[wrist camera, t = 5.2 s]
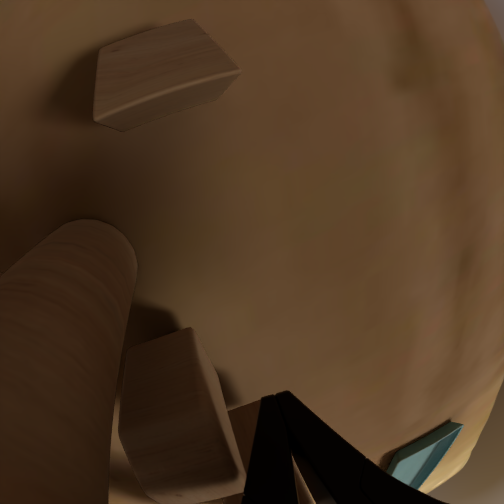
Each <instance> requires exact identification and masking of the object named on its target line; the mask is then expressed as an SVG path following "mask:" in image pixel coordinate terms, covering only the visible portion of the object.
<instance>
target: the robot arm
mask: <svg viewBox="0 0 504 504" xmlns="http://www.w3.org/2000/svg"><path fill="white" fill-rule="evenodd" d="M291 453H292V454H291ZM292 456H293V458H294V460H295V462H296V465H297V467H298V469H299V471H300V473H301V475H302V477H303V479H304V481H305V483H306V485H307V487H308V489H309V491H310V493H311V494H312V496H313V498H314V500H315V502H316V504H449V503H445V502H442V501H440V500H437V499H435V498H433V497H431V496H429V495H427V494H425V493H423V492H421V491H419V490H417V489H415V488H413V487H411V486H409V485H407V484H405V483H403V482H401V481H400V480H398V479H396V478H395V477H393V476H391V475H390V474H388V473H387V472H385V471H384V470H383V469H381V468H380V467H378V466H377V465H376V464H374V463H373V462H372V461H371V460H369V459H368V458H366V457H365V456H364V455H363V454H362V453H360V452H359V451H358V450H357V449H355V448H354V447H353V446H352V445H351V444H349V443H348V442H347V441H346V440H345V439H343V438H342V437H341V436H340V435H339V434H337V433H336V432H335V431H334V430H333V429H332V428H330V427H329V426H328V425H327V424H326V423H325V422H323V421H322V420H321V419H320V418H319V417H318V416H317V415H315V414H314V413H313V412H312V411H311V410H310V409H309V408H308V407H307V406H305V405H304V404H303V403H302V402H301V401H300V400H299V399H298V398H297V397H295V396H294V395H293V394H292V393H291V392H290V391H288V390H286V391H283V392H279V393H276V395H273V394H272V395H268V396H264V397H262V398H261V400H260V406H259V411H258V417H257V423H256V428H255V434H254V439H253V445H252V450H251V455H250V461H249V466H248V471H247V476H246V481H245V486H244V491H243V496H242V500H241V504H300V503H299V497H298V490H297V484H296V478H295V472H294V465H293V460H292Z"/></svg>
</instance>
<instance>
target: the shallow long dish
mask: <svg viewBox="0 0 504 504" xmlns="http://www.w3.org/2000/svg"><path fill="white" fill-rule="evenodd" d="M463 426H464V425H463V424H460V423H455V422H449V423H447V424H446V425H444V426H443V427H441V428H439V429H438V430H436V431H434V432H433V433H431V434H429V435H427V436H426V437H424V438H422V439H420V440H418V441H416V442H415V443H413V444H411V445H409V446H407V447H405V448H403V449H401V450H399V451H397V452H396V453H395V455H394V457H393V459H392V461H391V463H390V465H389V467H388V469H387V471H386V472H387V473H388V474H390V475H391V476H393V477H395V478H396V479H398V480H400V481H401V482H403V483H405V484H407V485H409V486H411V487H413V488H415V489H417V490H418V489H419V488H420V487H421V485H422V484H423V483H424V482H425V480H426V479H427V478H428V477H429V475H430V474H431V473H432V472H433V470H434V469H435V468H436V466H437V465H438V464H439V462H440V461H441V460H442V458H443V457H444V456H445V454H446V453H447V451H448V450H449V448H450V447H451V445H452V444H453V442H454V441H455V439H456V438H457V436H458V435H459V433H460V431H461V430H462V428H463Z"/></svg>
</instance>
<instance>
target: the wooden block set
mask: <svg viewBox="0 0 504 504" xmlns="http://www.w3.org/2000/svg"><path fill="white" fill-rule="evenodd" d="M241 73H242V71H241V68H240V67H239V66H238V65H237V64H236V63H235V62H234V61H233V59H232V58H231V57H230V56H229V55H228V54H227V53H226V52H225V51H224V50H223V49H222V48H221V47H220V46H219V45H218V43H217V42H216V41H215V40H214V39H213V38H212V37H211V36H210V35H209V34H208V33H207V32H206V31H205V30H204V29H203V28H202V27H201V26H200V25H199V24H198V23H197V22H196V21H195V20H194V19H188V20H184V21H180V22H176V23H172V24H169V25H165V26H162V27H158V28H155V29H152V30H149V31H145V32H142V33H139V34H136V35H134V36H131V37H128V38H125V39H123V40H120V41H117V42H115V43H112V44H110V45H107V46H105V47H102V48H100V49H99V53H98V60H97V69H96V78H95V89H94V103H93V120H94V122H96V123H99V124H102V125H105V126H107V127H110V128H113V129H116V130H118V131H121V132H124V131H127V130H129V129H132V128H134V127H137V126H139V125H142V124H145V123H147V122H150V121H153V120H155V119H158V118H161V117H164V116H167V115H170V114H172V113H175V112H178V111H182V110H185V109H188V108H191V107H194V106H197V105H201V104H204V103H208V102H211V101H215V100H217V99H218V98H219V97H220V96H221V95H222V94H223V93H224V91H225V90H226V89H227V88H228V87H229V86H230V85H231V84H232V83H233V81H234V80H235V79H236V78H237V77H238V76H239V75H240V74H241ZM137 270H138V263H137V259H136V255H135V251H134V249H133V247H132V245H131V244H130V242H129V241H128V239H127V238H126V236H125V235H123V234H122V233H121V232H120V231H118V230H117V229H116V228H115V227H114V226H112V225H109V224H107V223H104V222H101V221H99V220H91V219H79V220H75V221H72V222H69V223H65V224H64V225H62V226H61V227H59V228H58V229H56V230H55V231H54V232H52V233H51V234H50V235H48V236H47V237H46V238H45V239H43V240H42V241H41V242H40V243H38V244H37V245H36V246H35V247H34V248H32V249H31V250H30V251H29V252H28V253H26V254H25V255H24V256H23V257H22V258H20V259H19V260H18V261H17V262H16V263H15V264H14V265H12V266H11V267H10V268H9V269H8V270H7V271H6V272H5V273H3V274H2V275H1V276H0V504H108V491H109V462H110V446H111V433H112V422H113V413H114V404H115V396H116V388H117V381H118V374H119V367H120V361H121V355H122V349H123V343H124V337H125V332H126V327H127V322H128V317H129V312H130V307H131V302H132V298H133V293H134V289H135V284H136V280H137ZM259 406H260V400H258V401H255V402H252V403H250V404H247V405H244V406H241V407H238V408H236V409H233V410H230V411H227V409H226V405H225V401H224V398H223V394H222V390H221V386H220V382H219V378H218V375H217V373H216V371H215V369H214V367H213V365H212V363H211V361H210V359H209V357H208V355H207V353H206V351H205V349H204V347H203V345H202V343H201V341H200V339H199V337H198V335H197V333H196V331H194V330H193V329H192V328H191V327H189V328H185V329H182V330H179V331H176V332H173V333H170V334H168V335H165V336H162V337H159V338H156V339H153V340H150V341H147V342H144V343H141V344H138V345H135V346H132V347H130V348H129V349H128V350H127V353H126V360H125V367H124V375H123V383H122V392H121V401H120V412H119V424H118V433H119V438H120V441H121V443H122V446H123V448H124V451H125V453H126V455H127V458H128V460H129V462H130V465H131V467H132V469H133V471H134V473H135V476H136V478H137V480H138V482H139V484H140V486H141V488H142V490H143V491H144V493H145V494H146V495H147V496H148V497H150V498H151V499H153V500H154V501H156V502H157V503H159V504H196V503H201V502H205V501H210V500H214V499H219V498H223V502H224V504H241V500H242V496H243V491H244V486H245V481H246V476H247V471H248V466H249V461H250V455H251V450H252V445H253V439H254V434H255V428H256V423H257V417H258V411H259ZM292 460H293V458H292ZM293 465H294V472H295V478H296V484H297V490H298V497H299V503H300V504H314V503H313V501H312V499H311V497H310V495H309V492H308V490H307V488H306V486H305V484H304V482H303V480H302V478H301V475H300V473H299V471H298V469H297V467H296V465H295V463H294V460H293Z"/></svg>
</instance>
